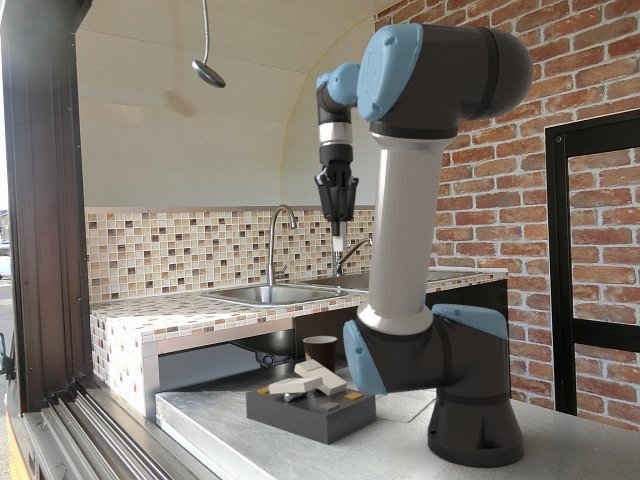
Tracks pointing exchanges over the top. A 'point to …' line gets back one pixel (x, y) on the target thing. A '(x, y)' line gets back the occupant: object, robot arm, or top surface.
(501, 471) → the top surface
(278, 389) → the rocker left
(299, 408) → the switch unit
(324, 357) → the coffee mug
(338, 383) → the rocker right
